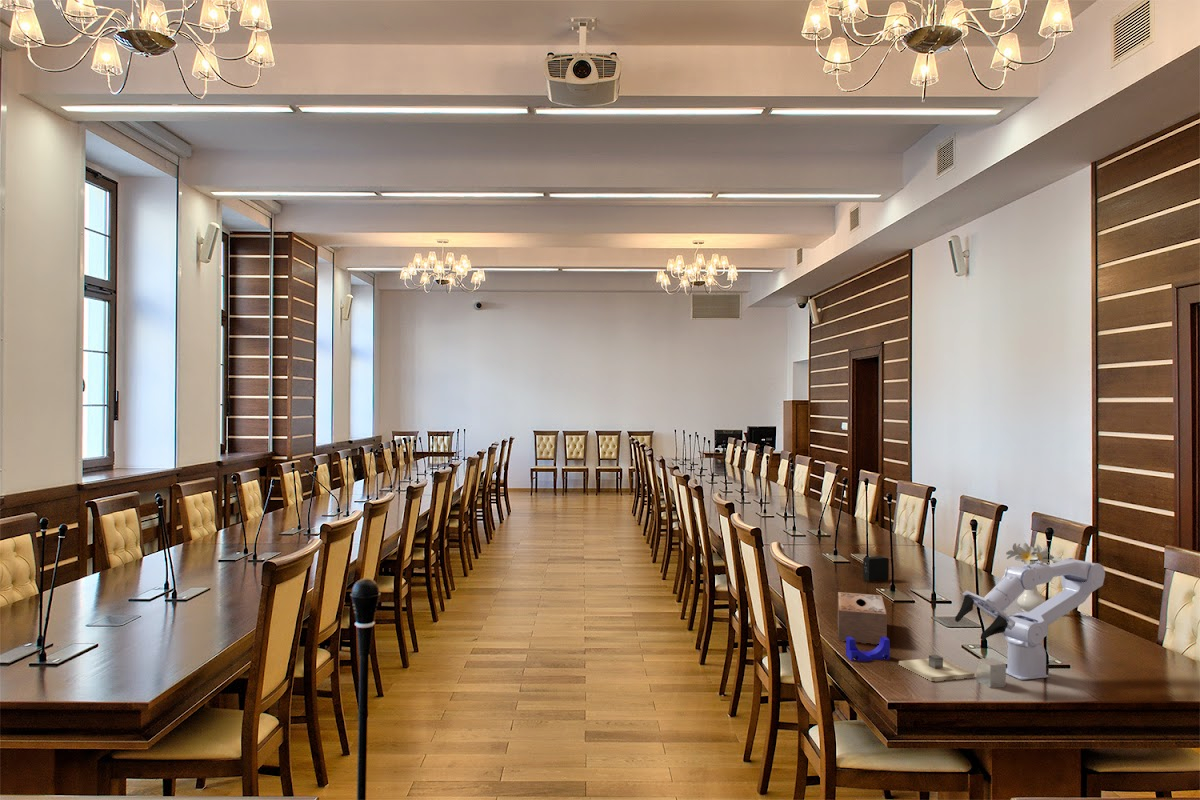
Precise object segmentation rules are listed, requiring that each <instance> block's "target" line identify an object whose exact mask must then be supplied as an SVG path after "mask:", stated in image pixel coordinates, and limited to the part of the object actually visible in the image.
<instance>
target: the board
mask: <svg viewBox="0 0 1200 800" xmlns="http://www.w3.org/2000/svg"><path fill="white" fill-rule="evenodd" d="M899 665H900V666H899ZM898 666H899V667H901V666H902V667H901V668H903V667H904V669H905V668H906V669H905V670H907V669H908V671H909V670H910V672H911V671H912V672H911V673H913V672H914V673H913V674H915V673H916V674H915V675H917V674H918V675H917V676H919V675H920V676H919V677H921V676H922V678H923V677H924V678H923V679H925V678H926V679H925V680H927V679H928V680H927V681H929V680H930V681H929V682H931V681H935V682H945V681H944V680H946V681H953V680H952V679H956V680H963V679H964V678H967V679H974V678H975V672H972V671H970V670H968V669H966V668H963V667H961V666H960V665H957V664H956V663H953V662H951V661H948V660H946V659H944V658H943V668H940V669H934V668H932V667H930V666H929V657H928V658H918V659H908V660H907V659H906V660H905V659H904V660H898ZM964 680H965V679H964Z"/></svg>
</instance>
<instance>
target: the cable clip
mask: <svg viewBox="0 0 1200 800" xmlns="http://www.w3.org/2000/svg"><path fill="white" fill-rule="evenodd" d="M890 642H891V641H890V639H889V638H888V637H881V639H880V643H879V645H877V646H876V647H875V648H874V649H871V650H869V651H863V650H861V649H858V646H857V644H856V642H855V639H853V638H852V637H846V642H845V657H846V656H847V657H848V658H847V657H846V658H847V659H848V660H850V662H857V661H856V660H859V661H858V662H872V660H890V657H891V655H890V649H891V647H890V645H891V643H890ZM853 658H855V659H856V660H854V659H853ZM884 658H885V659H884Z"/></svg>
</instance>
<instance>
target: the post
mask: <svg viewBox="0 0 1200 800" xmlns="http://www.w3.org/2000/svg"><path fill="white" fill-rule="evenodd" d="M928 658H929V666H930V667H932V668H934V669H940V668H943V659H944V657H942V656H940V655H938V654H931V655H928Z"/></svg>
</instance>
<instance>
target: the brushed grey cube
mask: <svg viewBox="0 0 1200 800" xmlns="http://www.w3.org/2000/svg"><path fill="white" fill-rule="evenodd" d="M1006 668H1007V663H1005V662H1002V661H1000V660H998V659H996V658H994V657H993V658H992V657H989V658H977V659H976V682H978V683H979V684H981V685H984V686H985V687H988V688H990V689H991V688H992V689H993V688H1002V687H1006V686H1007V685H1006V683H1007V681H1006V679H1007V678H1006V677H1007V675H1006Z"/></svg>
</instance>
